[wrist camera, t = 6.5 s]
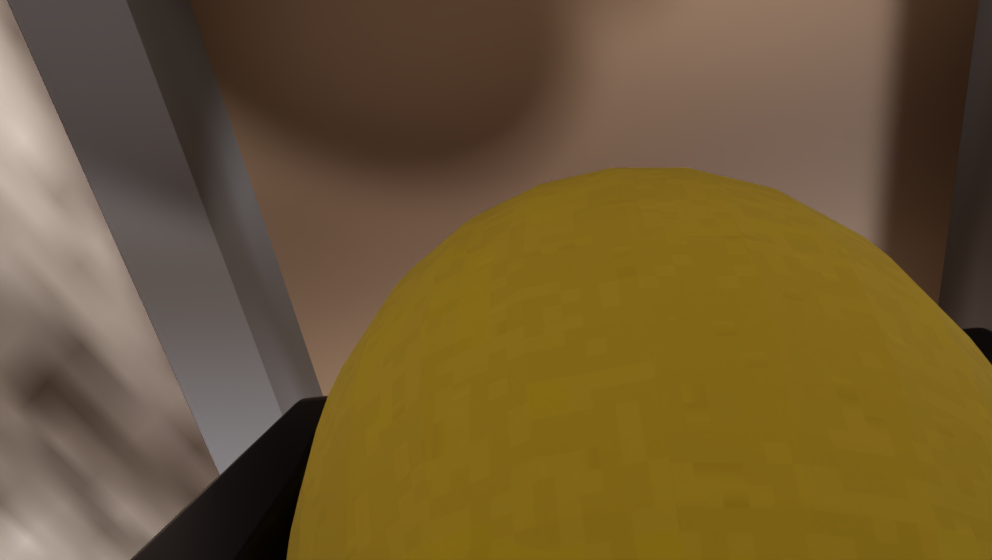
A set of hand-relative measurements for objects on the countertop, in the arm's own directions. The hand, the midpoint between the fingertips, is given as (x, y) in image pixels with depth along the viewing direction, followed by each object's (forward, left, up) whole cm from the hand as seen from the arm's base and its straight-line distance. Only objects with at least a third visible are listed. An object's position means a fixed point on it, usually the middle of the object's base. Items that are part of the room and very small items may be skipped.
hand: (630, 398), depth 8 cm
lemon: (0, 0, -2) cm, 2 cm away
